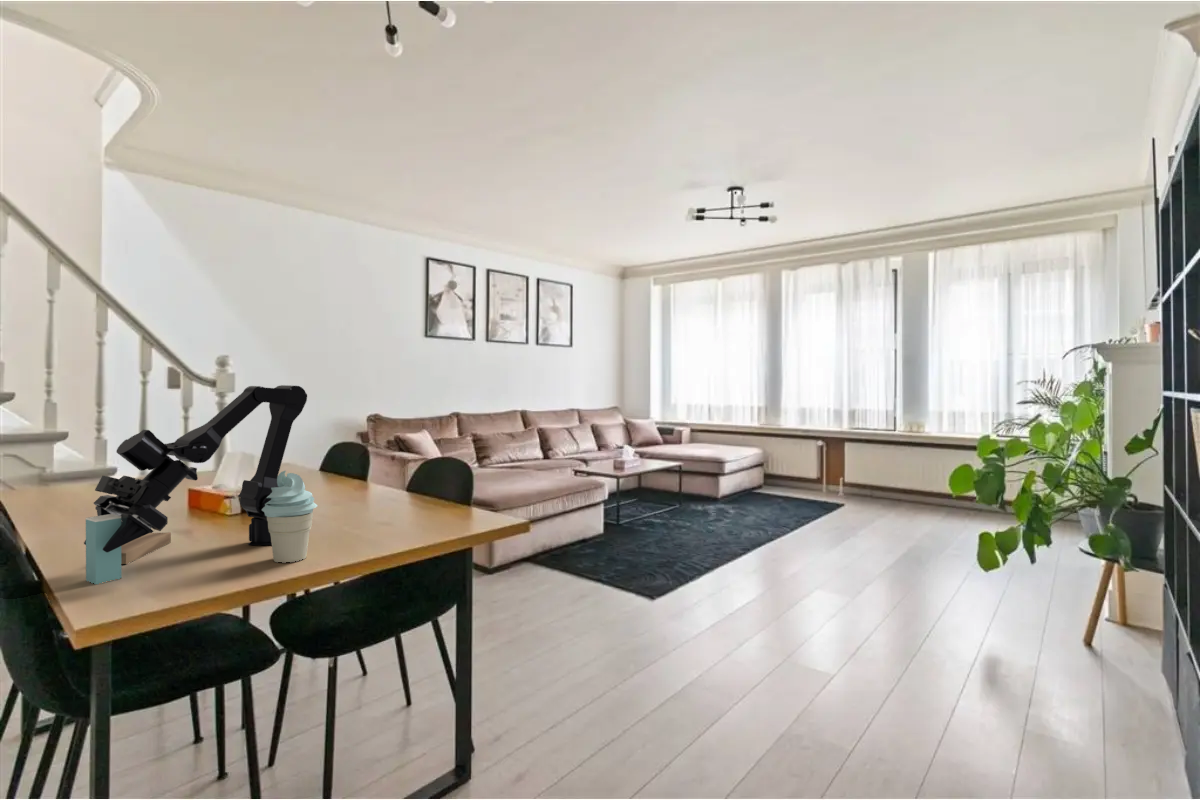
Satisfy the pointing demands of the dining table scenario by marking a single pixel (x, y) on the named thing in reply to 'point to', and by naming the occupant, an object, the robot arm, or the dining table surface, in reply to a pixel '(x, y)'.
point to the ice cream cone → (289, 518)
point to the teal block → (97, 560)
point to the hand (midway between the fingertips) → (95, 548)
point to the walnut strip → (143, 546)
